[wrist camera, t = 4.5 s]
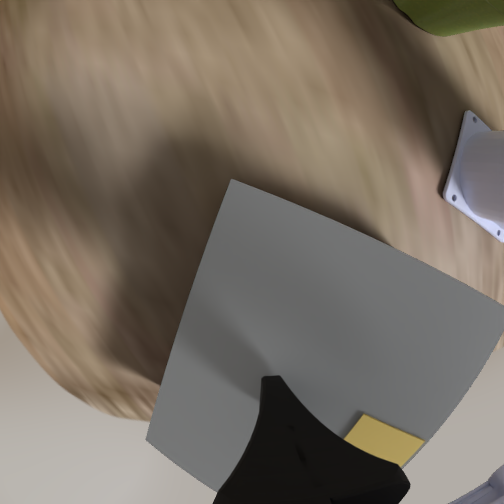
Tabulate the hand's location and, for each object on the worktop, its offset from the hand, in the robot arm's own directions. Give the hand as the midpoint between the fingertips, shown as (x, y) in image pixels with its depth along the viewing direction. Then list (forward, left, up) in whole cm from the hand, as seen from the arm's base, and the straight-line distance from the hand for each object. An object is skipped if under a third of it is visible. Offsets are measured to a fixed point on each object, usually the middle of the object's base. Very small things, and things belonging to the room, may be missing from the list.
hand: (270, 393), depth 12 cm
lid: (-1, +1, 0) cm, 2 cm away
